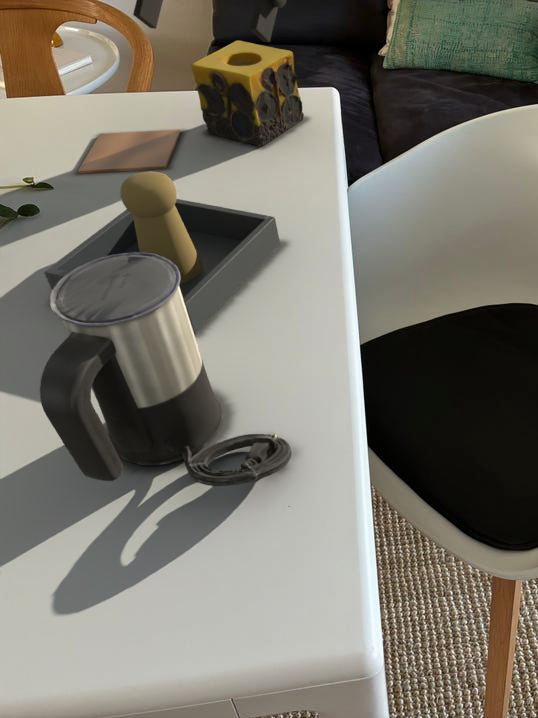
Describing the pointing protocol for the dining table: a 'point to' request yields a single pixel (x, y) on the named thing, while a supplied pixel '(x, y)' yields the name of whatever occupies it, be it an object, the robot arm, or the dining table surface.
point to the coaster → (130, 151)
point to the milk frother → (138, 377)
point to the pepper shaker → (160, 221)
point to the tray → (212, 243)
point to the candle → (248, 92)
